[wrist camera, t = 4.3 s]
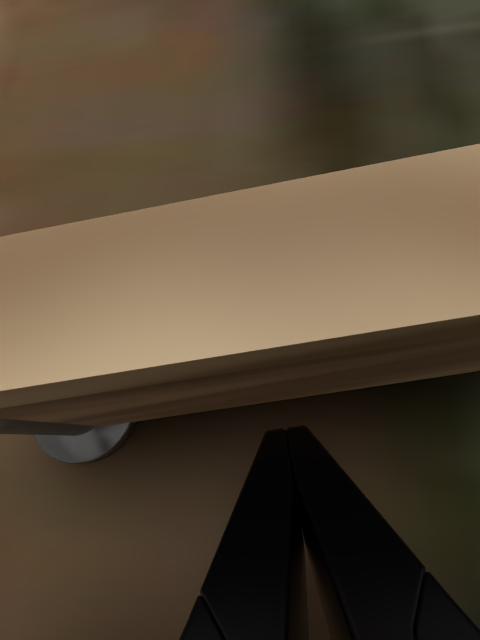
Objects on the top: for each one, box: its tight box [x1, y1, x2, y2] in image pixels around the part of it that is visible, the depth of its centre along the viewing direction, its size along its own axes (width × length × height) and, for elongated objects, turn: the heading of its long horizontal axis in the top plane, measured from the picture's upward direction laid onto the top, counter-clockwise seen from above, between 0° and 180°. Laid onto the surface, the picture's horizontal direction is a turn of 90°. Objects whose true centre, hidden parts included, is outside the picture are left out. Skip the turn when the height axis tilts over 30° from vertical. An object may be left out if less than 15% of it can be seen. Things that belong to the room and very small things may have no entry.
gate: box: [0, 144, 480, 436], centre depth 10 cm, size 3×18×9 cm, turn 98°
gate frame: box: [34, 422, 136, 463], centre depth 12 cm, size 4×32×6 cm, turn 98°
